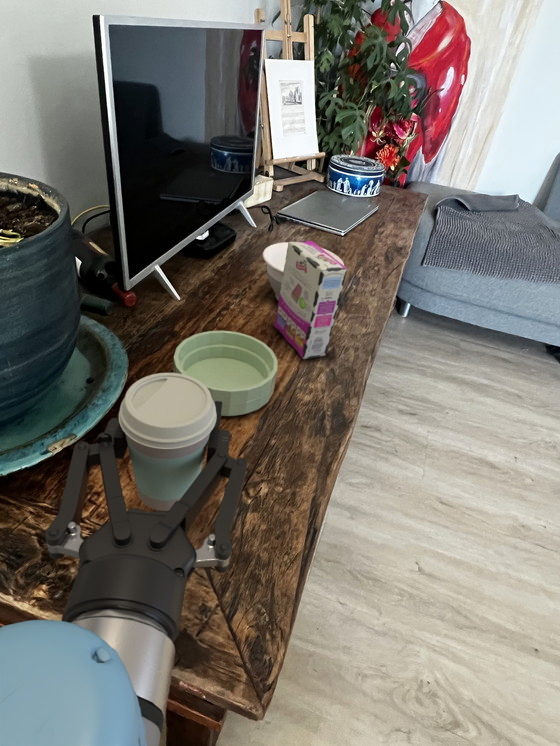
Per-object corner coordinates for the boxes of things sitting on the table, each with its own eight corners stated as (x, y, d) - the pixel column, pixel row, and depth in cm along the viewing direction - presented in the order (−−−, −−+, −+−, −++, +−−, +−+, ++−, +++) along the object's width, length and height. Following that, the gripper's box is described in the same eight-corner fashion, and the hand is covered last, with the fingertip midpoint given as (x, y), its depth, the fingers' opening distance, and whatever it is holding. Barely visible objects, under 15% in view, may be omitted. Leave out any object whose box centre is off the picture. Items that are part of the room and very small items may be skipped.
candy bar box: (327, 356, 85) (349, 268, 75) (302, 361, 82) (322, 270, 73) (296, 322, 92) (312, 238, 82) (272, 326, 90) (286, 240, 80)
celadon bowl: (165, 412, 67) (165, 384, 65) (182, 351, 79) (183, 325, 76) (272, 424, 69) (277, 396, 66) (273, 362, 81) (277, 337, 78)
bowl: (281, 323, 91) (288, 281, 86) (244, 283, 102) (249, 244, 97) (350, 312, 98) (360, 273, 93) (309, 276, 109) (317, 239, 104)
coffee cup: (185, 446, 55) (190, 360, 48) (224, 501, 50) (236, 413, 43) (110, 474, 51) (102, 382, 43) (144, 537, 45) (142, 445, 38)
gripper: (-35, 653, 33) (76, 422, 51) (267, 672, 35) (271, 443, 53) (-64, 594, 29) (69, 364, 47) (284, 620, 31) (282, 389, 49)
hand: (176, 406), depth 50 cm, fingers closed on coffee cup, 8 cm apart
